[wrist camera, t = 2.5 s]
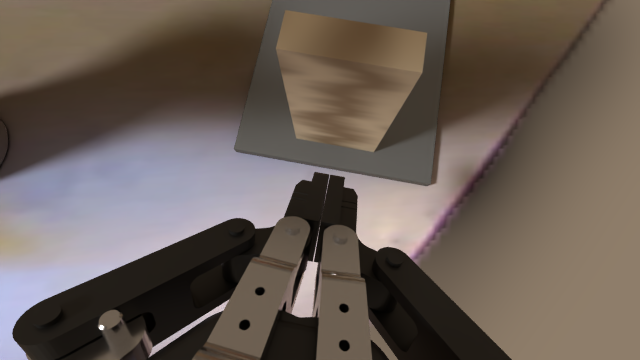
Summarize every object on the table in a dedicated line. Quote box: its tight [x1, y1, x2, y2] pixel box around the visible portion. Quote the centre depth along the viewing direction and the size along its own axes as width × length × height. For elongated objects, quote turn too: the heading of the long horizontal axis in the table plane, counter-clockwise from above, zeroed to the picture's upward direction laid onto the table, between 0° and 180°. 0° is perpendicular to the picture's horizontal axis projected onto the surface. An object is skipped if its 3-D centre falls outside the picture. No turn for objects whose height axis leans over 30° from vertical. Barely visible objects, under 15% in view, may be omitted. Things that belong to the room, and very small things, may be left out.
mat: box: [234, 0, 450, 186], centre depth 32 cm, size 20×26×1 cm
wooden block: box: [276, 10, 427, 152], centre depth 23 cm, size 8×2×14 cm, turn 79°
